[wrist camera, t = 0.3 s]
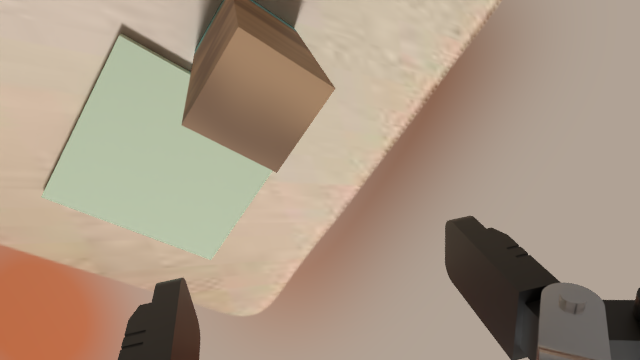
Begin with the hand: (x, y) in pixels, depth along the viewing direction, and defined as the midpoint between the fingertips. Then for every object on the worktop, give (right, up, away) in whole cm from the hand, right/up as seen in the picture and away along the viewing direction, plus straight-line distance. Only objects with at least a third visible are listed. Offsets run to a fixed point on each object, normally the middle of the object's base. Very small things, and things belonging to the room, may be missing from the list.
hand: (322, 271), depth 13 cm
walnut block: (-5, +13, +18) cm, 22 cm away
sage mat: (-12, +4, +21) cm, 24 cm away
